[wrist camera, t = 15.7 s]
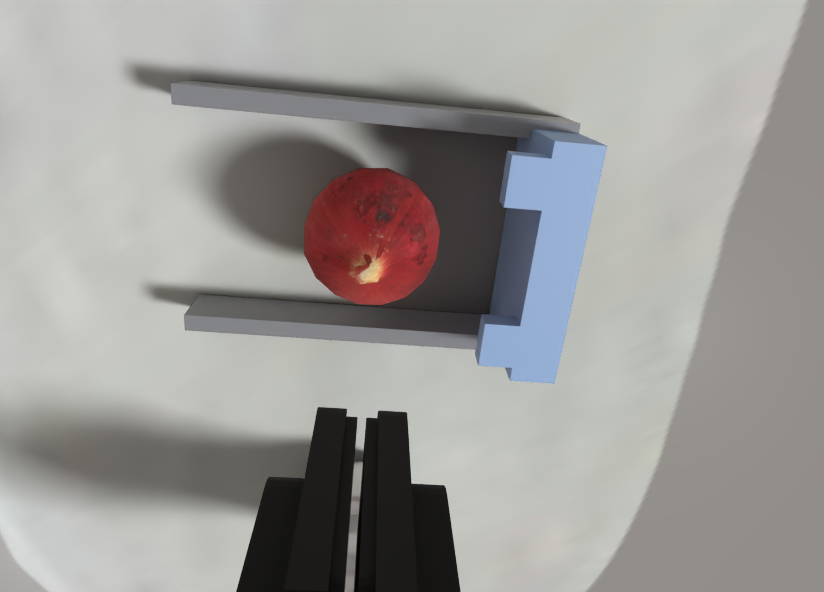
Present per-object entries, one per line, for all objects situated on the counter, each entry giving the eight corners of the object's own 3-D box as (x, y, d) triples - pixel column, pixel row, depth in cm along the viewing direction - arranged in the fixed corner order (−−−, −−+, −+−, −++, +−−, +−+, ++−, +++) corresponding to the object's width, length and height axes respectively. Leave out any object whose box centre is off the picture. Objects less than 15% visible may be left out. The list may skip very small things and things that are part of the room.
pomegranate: (342, 133, 27) (326, 164, 20) (453, 185, 28) (477, 233, 21) (297, 243, 29) (267, 308, 22) (402, 287, 30) (408, 363, 23)
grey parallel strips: (175, -211, 22) (151, -241, 20) (614, -151, 23) (640, -173, 21) (200, 308, 30) (185, 330, 28) (523, 331, 31) (534, 353, 29)
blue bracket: (488, 119, 27) (515, 137, 22) (562, 126, 27) (607, 145, 22) (459, 319, 31) (476, 378, 26) (524, 324, 31) (554, 383, 26)
